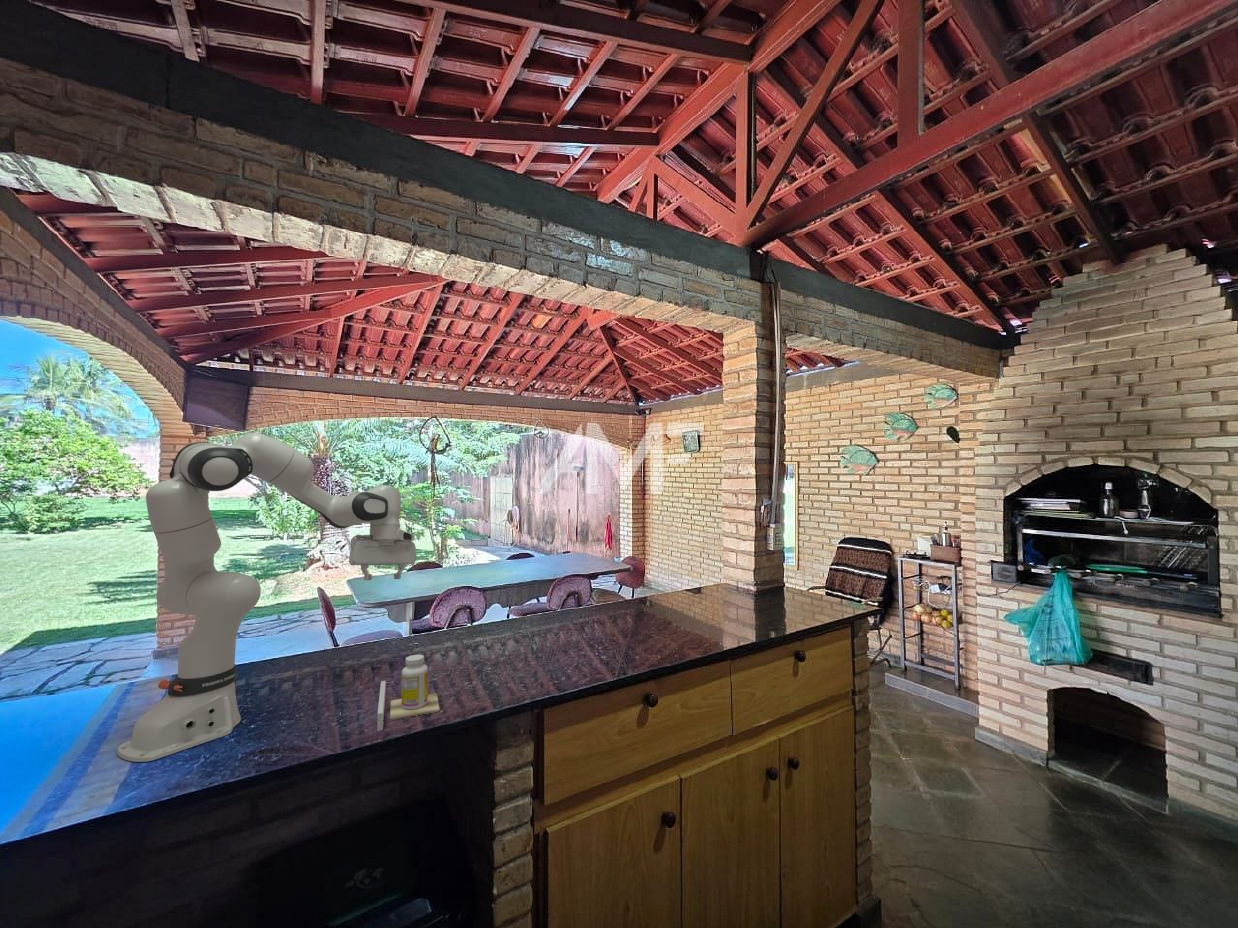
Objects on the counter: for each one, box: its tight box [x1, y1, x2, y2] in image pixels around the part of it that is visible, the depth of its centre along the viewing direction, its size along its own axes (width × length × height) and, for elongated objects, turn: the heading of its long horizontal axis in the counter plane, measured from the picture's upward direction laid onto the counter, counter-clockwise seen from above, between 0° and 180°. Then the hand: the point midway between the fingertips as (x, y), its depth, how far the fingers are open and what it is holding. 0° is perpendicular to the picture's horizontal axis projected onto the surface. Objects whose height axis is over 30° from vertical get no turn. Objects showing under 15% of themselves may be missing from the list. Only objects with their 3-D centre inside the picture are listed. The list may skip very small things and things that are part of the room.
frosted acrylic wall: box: [376, 680, 387, 732], centre depth 130 cm, size 22×1×4 cm, turn 24°
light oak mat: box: [389, 692, 441, 721], centre depth 133 cm, size 12×12×1 cm
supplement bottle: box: [401, 654, 429, 710], centre depth 133 cm, size 7×7×13 cm
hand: (382, 579), depth 153 cm, fingers open, 8 cm apart
